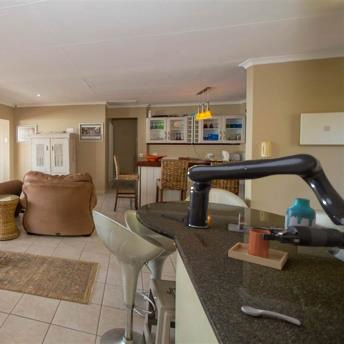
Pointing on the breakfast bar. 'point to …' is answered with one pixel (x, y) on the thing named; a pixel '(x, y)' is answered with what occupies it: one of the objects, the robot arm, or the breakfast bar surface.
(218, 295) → the breakfast bar surface
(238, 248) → the tray
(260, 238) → the cup
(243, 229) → the architectural model
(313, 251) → the breakfast bar surface
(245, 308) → the spoon
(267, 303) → the breakfast bar surface
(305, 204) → the vase
